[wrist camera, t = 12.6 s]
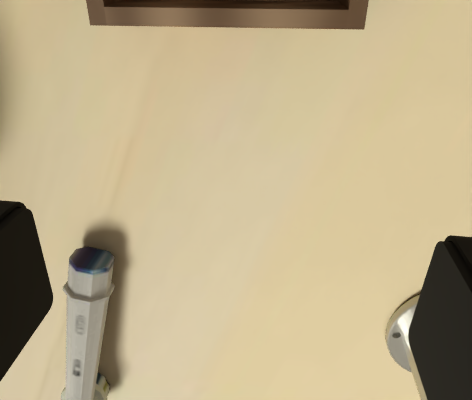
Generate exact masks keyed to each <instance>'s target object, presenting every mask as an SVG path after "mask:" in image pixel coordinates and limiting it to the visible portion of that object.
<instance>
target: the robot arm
mask: <svg viewBox="0 0 472 400" xmlns="http://www.w3.org/2000/svg"><path fill="white" fill-rule="evenodd" d="M52 302H53V293H52V289H51V285H50V281H49V277H48V273H47V269H46V265H45V261H44V257H43V253H42V249H41V245H40V241H39V237H38V233H37V229H36V225H35V221H34V218H33V214H32V212H31V211H30V210H29V209H26V206H25V205H24V204H23V203H21V202H12V201H0V381H1V380H2V378H3V377H4V375H5V374H6V372H7V371H8V370H9V368H10V367H11V365H12V364H13V362H14V361H15V359H16V358H17V356H18V355H19V354H20V352H21V351H22V349H23V348H24V346H25V345H26V343H27V342H28V341H29V339H30V338H31V336H32V335H33V333H34V332H35V330H36V329H37V327H38V326H39V325H40V323H41V322H42V320H43V319H44V317H45V316H46V314H47V313H48V311H49V310H50V308H51V306H52ZM385 339H386V343H387V347H388V350H389V353H390V355H391V357H392V358H393V359H394V361H395V362H396V363H397V364H399V365H400V366H401V367H402V368H404V369H406V370H407V371H409V372H411V373H412V374H413V377H414V380H415V383H416V386H417V389H418V392H419V395H420V399H421V400H472V237H463V236H448V237H447V238H446V239H445V241H444V242H443V241H440V242H438V243H437V244H436V247H435V250H434V253H433V256H432V259H431V262H430V265H429V268H428V271H427V274H426V278H425V281H424V284H423V287H422V290H421V293H420V294H419V295H418V296H416V297H414V298H412V299H410V300H409V301H407V302H406V303H405V304H403V305H402V306H401V307H400V308H399V309H398V310H397V311H396V312H395V313H394V314H393V316H392V317H391V319H390V320H389V322H388V325H387V328H386V335H385Z"/></svg>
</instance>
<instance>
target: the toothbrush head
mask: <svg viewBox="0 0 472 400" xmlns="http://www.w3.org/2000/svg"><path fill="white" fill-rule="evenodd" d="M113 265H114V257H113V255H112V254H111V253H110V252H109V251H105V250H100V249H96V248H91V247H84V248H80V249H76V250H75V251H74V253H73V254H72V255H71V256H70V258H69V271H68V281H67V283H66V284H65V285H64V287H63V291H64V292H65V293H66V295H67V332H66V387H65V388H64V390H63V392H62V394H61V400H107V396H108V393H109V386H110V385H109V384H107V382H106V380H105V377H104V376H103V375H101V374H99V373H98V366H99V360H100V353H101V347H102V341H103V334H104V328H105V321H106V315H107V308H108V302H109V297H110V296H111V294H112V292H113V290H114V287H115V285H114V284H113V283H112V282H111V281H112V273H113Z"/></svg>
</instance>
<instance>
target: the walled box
mask: <svg viewBox="0 0 472 400" xmlns="http://www.w3.org/2000/svg"><path fill="white" fill-rule="evenodd" d="M86 2H87V8H88V14H89V20H90V25H109V26H175V27H240V28H306V29H364V27H365V20H366V14H367V7H368V0H86Z"/></svg>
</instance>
